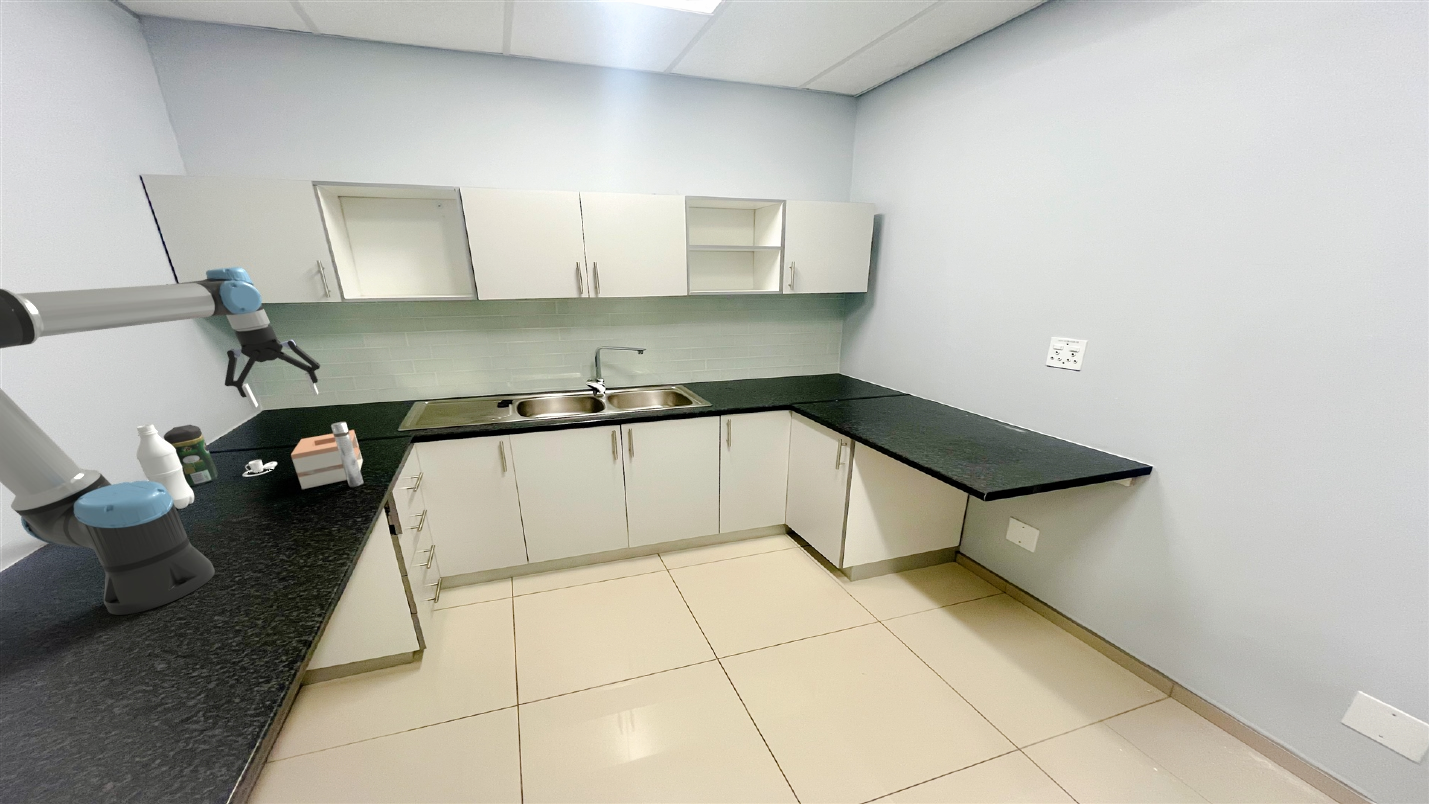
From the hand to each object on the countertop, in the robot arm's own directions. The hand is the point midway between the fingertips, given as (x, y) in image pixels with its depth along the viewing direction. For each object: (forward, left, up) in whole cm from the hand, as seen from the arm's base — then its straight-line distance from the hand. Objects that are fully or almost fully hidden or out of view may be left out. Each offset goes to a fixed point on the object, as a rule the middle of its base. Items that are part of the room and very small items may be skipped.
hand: (286, 400), depth 133 cm
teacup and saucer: (+30, +17, -30) cm, 46 cm away
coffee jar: (+33, +34, -29) cm, 56 cm away
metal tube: (-2, -10, -29) cm, 31 cm away
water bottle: (+12, +33, -29) cm, 46 cm away
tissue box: (+12, -3, -29) cm, 32 cm away
